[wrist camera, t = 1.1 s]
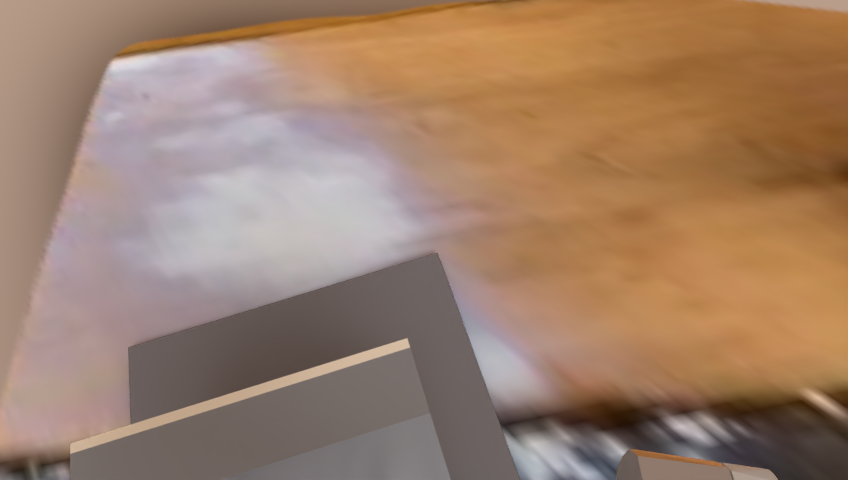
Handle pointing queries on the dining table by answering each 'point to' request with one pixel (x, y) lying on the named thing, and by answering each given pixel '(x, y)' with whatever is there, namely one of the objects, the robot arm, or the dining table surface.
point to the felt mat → (338, 356)
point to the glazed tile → (286, 430)
